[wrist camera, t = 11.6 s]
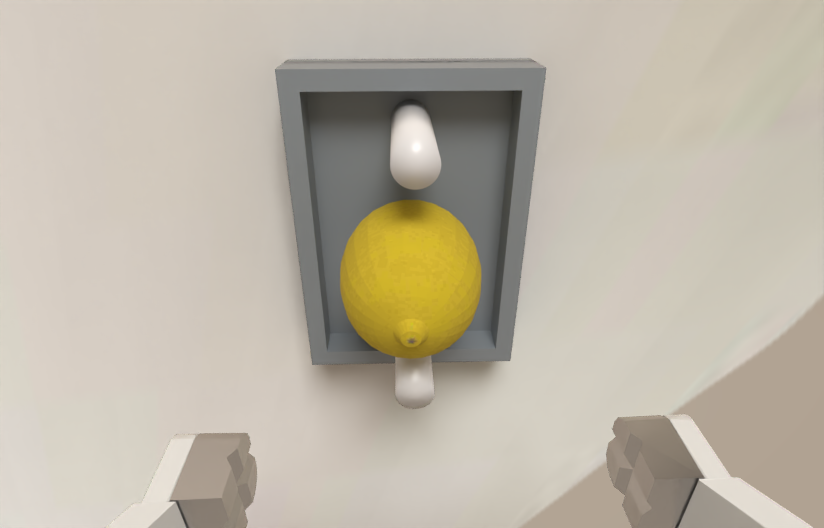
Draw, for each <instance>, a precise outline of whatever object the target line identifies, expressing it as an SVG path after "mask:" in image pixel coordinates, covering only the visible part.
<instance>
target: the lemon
mask: <svg viewBox="0 0 824 528" xmlns="http://www.w3.org/2000/svg"><path fill="white" fill-rule="evenodd" d="M340 291H341V296H342V300H343V304H344V307H345V310H346V314H347V316H348V319H349V321H350V322H351V324H352V325H353V327H354V329H355V330H356V332H357V333H358V335H359V336H361V337H362V338H363V339H364V340H365V341H366V342H367V343H368V344H369V345H370V346H372V347H373V348H375V349H377V350H379V351H381V352H382V353H385V354H388V355H391V356H395V357H398V358H408V359H413V358H423V357H427V356H430V355H434V354H437V353H439V352H441V351H443V350H445V349H447V348H449V347H450V346H451V345H452V344H453V343H455V342H456V341H457V340H458V339H459V338H460V337H461V336H462V335H463V334H464V332H465V331H466V330H467V328H468V327H469V325H470V324H471V322H472V320H473V318H474V315H475V312H476V309H477V306H478V303H479V299H480V294H481V264H480V260H479V257H478V253H477V249H476V246H475V243H474V241H473V240H472V238H471V236H470V235H469V233H468V231H467V230H466V228H465V227H464V225H463V224H462V223H461V222H460V221H459V220H458V219H457V218H456V217H455V216H453V215H452V214H451V213H450V212H449V211H447V210H445V209H443V208H441V207H439V206H438V205H436V204H433V203H429V202H426V201H422V200H400V201H396V202H391V203H388V204H386V205H384V206H382V207H380V208H378V209H376V210H374V211H373V212H371V213H370V214H369V215H368V216H367V217H365V218H364V219H363V220H362V221H361V222H360V223H359V225H358V226H357V228H356V229H355V230H354V232H353V233H352V235H351V236H350V238H349V240H348V242H347V245H346V248H345V251H344V254H343V257H342V261H341V266H340Z"/></svg>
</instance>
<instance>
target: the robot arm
mask: <svg viewBox="0 0 824 528" xmlns="http://www.w3.org/2000/svg"><path fill="white" fill-rule="evenodd" d="M612 430H613V432H614V434H615V436H616V437H615V438H614V439H613V440H612V441H610V442H609V443H608V448H607V452H606V458H607V468H608V471H609V475H610V478H611V480H612V483H613V485H614V487H615V488H617V489H618V490H619V491H620V492H621V493H623V494H624V495H625V497H624V501H623V504H622V506H623V508H624V511H625V513H626V515H627V517H628V520H629V522H630V525H631V527H632V528H813V527H812V526H810V525H809V524H807V523H806V522H804V521H803V520H801V519H800V518H798V517H797V516H795V515H794V514H792V513H791V512H789V511H788V510H786V509H785V508H783V507H782V506H780V505H779V504H777V503H776V502H774V501H773V500H771V499H770V498H769V497H767V496H766V495H764V494H762V493H761V492H759V491H758V490H757V489H755V488H753V487H752V486H751V485H749V484H748V483H746V482H744V481H743V480H741V479H740V478H738V477H737V478H736V477H734V478H732V477H731V476H730V475H729V473H728V472H727V470H726V469H725V467H724V466H723V464H722V463H721V461H720V460H719V458H718V457H717V455H716V454H715V452H714V451H713V449H712V448H711V447H710V445H709V444H708V442H707V441H706V439H705V438H704V436H703V435H702V434H701V432H700V430H699V429H698V427H697V426H696V424H695V423H694V421H693V420H692V418H690V417H689V416H688V415H663V416H661V415H655V416H636V417H618V418H617V419H616V420H615V422H614V425H613V429H612ZM250 445H251V442H250V439H249V436H248V433H204V434H176V435H175V436H174V437H173V438H172V439H171V440H170V442H169V444H168V446H167V448H166V450H165V453H164V455H163V457H162V459H161V461H160V463H159V465H158V468H157V470H156V472H155V474H154V476H153V478H152V480H151V483H150V485H149V487H148V489H147V491H146V493H145V495H144V498H143V500H142V502H141V503H134V504H132V505H131V506H130V507H129V508H128V509H127V510H125V511H124V512H123V513H122V514H121V515H119V516H118V517H117V518H116V519H115V520H114V521H112V522H111V523H110V524H109V525H108V526H106V527H105V528H246V527H247V523H248V520H247V517H246V513H245V510H246V508H247V507H248V506H249V505H250V504H251V503H252V502H253V499H254V495H255V491H256V483H257V466H256V461H255V457H253V456H252V455H251V454H249V453H248V452H249V449H250Z"/></svg>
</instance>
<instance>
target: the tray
mask: <svg viewBox="0 0 824 528" xmlns="http://www.w3.org/2000/svg"><path fill="white" fill-rule="evenodd" d="M275 73H276V81H277V89H278V97H279V105H280V113H281V121H282V129H283V137H284V144H285V152H286V160H287V168H288V176H289V184H290V192H291V200H292V208H293V215H294V223H295V231H296V239H297V247H298V255H299V263H300V271H301V279H302V286H303V294H304V302H305V310H306V318H307V326H308V334H309V342H310V350H311V358H312V365H323V364H374V363H395V397H396V399H397V401H398V402H399V403H400V404H401V405H402V406H404V407H407V408H412V409H416V408H422V407H425V406H427V405H428V404H429V403H431V401H432V400H433V398H434V395H435V391H434V381H433V370H432V362H475V361H510V359H511V351H512V343H513V335H514V326H515V318H516V310H517V302H518V294H519V286H520V278H521V270H522V261H523V253H524V245H525V237H526V229H527V221H528V213H529V205H530V196H531V188H532V180H533V172H534V164H535V156H536V148H537V139H538V131H539V123H540V115H541V107H542V99H543V91H544V83H545V74H546V67H544V66H542V65H541V64H539V63H537V62H535V61H534V60H532V59H346V60H287V61H285V62H284V63H283V64H281V65H280V66H279V67H277V68H276V69H275ZM400 200H422V201H426V202H429V203H433V204H436V205H438V206H439V207H441V208H443V209H445V210H447V211H449V212H450V213H451V214H452V215H453V216H455V217H456V218H457V219H458V220H459V221H460V222H461V223H462V224H463V225H464V227H465V228H466V230H467V231H468V233H469V235H470V236H471V238H472V240H473V241H474V243H475V246H476V249H477V253H478V257H479V260H480V264H481V294H480V299H479V303H478V306H477V309H476V312H475V315H474V318H473V320H472V322H471V324H470V325H469V327H468V328H467V330H466V331H465V332H464V334H463V335H462V336H461V337H460V338H459V339H458V340H457V341H456V342H455V343H453V344H452V345H451V346H450V347H449V348H447V349H445V350H443V351H441V352H439V353H437V354H434V355H430V356H427V357H423V358H413V359H408V358H398V357H395V356H391V355H388V354H385V353H382V352H381V351H379V350H377V349H375V348H373V347H372V346H370V345H369V344H368V343H367V342H366V341H365V340H364V339H363V338H362V337H361V336H359V335H358V333H357V332H356V330H355V329H354V327H353V325H352V324H351V322H350V321H349V319H348V316H347V314H346V310H345V307H344V304H343V300H342V296H341V291H340V266H341V261H342V257H343V254H344V251H345V248H346V245H347V242H348V240H349V238H350V236H351V235H352V233H353V232H354V230H355V229H356V228H357V226H358V225H359V223H360V222H361V221H362V220H363V219H364V218H365V217H367V216H368V215H369V214H370V213H371V212H373V211H374V210H376V209H378V208H380V207H382V206H384V205H386V204H388V203H391V202H396V201H400Z"/></svg>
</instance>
